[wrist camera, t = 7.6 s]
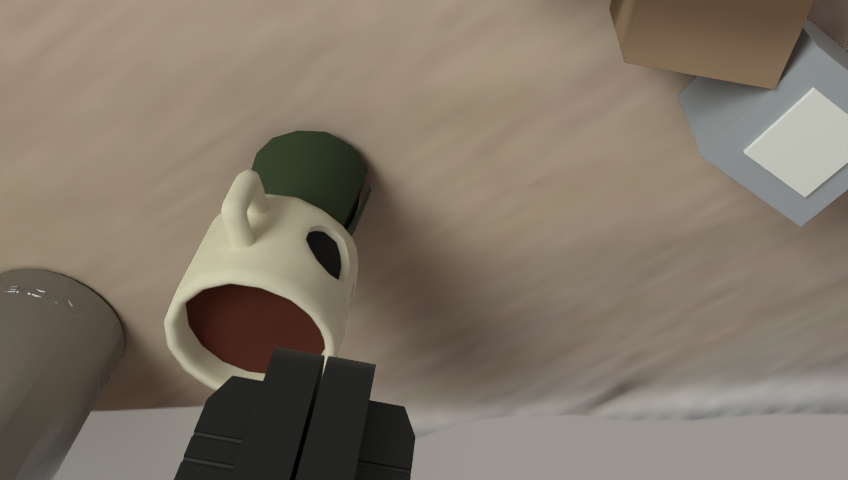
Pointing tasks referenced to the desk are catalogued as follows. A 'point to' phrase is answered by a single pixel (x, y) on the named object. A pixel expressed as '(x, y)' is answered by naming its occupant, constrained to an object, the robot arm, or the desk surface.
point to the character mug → (273, 262)
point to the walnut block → (711, 36)
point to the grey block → (780, 128)
